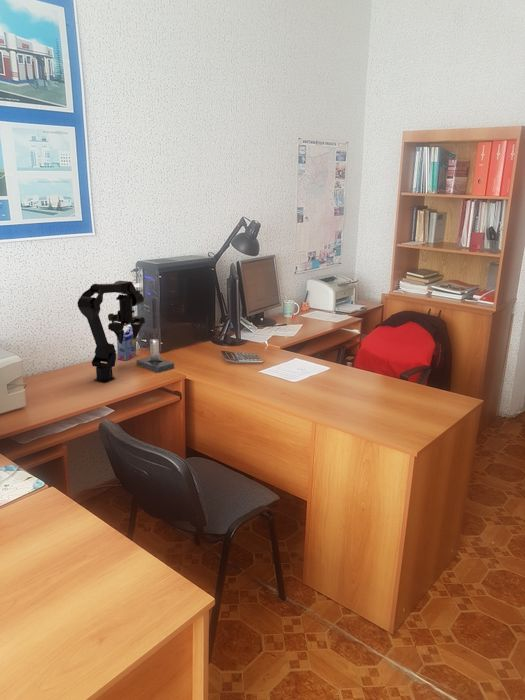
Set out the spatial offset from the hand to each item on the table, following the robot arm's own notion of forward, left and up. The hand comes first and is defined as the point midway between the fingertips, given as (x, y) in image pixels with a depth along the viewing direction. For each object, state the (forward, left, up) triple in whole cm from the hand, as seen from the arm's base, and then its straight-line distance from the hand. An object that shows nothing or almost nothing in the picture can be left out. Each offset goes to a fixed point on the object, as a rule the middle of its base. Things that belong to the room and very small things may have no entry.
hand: (127, 341), depth 257 cm
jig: (+8, -9, -13) cm, 18 cm away
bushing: (+8, -9, -13) cm, 18 cm away
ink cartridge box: (+12, +12, -13) cm, 21 cm away
